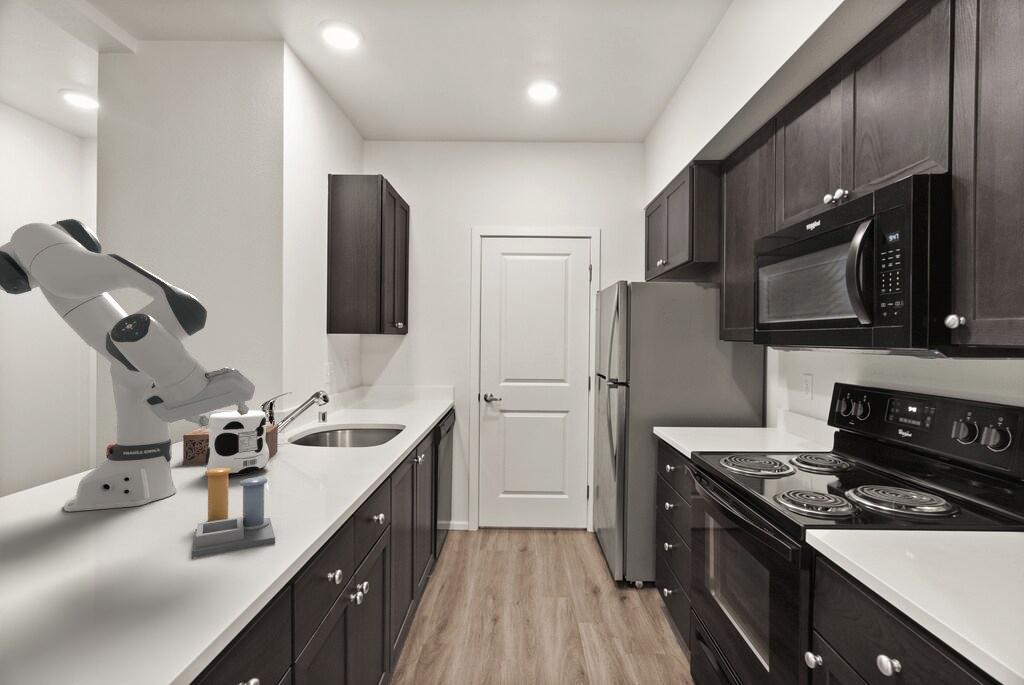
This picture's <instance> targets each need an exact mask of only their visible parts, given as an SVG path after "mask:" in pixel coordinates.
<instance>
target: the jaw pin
mask: <svg viewBox="0 0 1024 685" xmlns="http://www.w3.org/2000/svg"><path fill="white" fill-rule="evenodd" d="M228 473H231V469H230V468H216V469H211V470H207V469H206V471H204V476H207V522H208V521H209V522H211V521H218V520H225V519H229V476H228Z"/></svg>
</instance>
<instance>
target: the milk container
mask: <svg viewBox="0 0 1024 685" xmlns="http://www.w3.org/2000/svg"><path fill="white" fill-rule="evenodd" d="M209 416H210V417H209V422H208V428H209V446H208V450H207V453H206V457H205V463H206V464H205V468H206V471H207V470H211V469H216V468H230V469H231V473H228V477H231V476H232V477H233V476H242V475H248V474H252V473H256V472H258V471H261V470H264V469H265V468H266V467H267V465H268V463H269V461H270V460H269V449H268V446H267V442H266V426H267V423H266V422H267V418H266V417H267V416H266V412H265V411H260V410H249V411H248V414H245V415H240V414H239V413H238V412H237V410H236V411H226V412H218V413H213V414H211V415H209ZM268 460H269V461H268Z"/></svg>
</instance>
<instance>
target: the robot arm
mask: <svg viewBox="0 0 1024 685" xmlns="http://www.w3.org/2000/svg"><path fill="white" fill-rule="evenodd" d="M38 287H39V289H40V291H41V293H42V295H43V297H44V298H45V299H46V301H47V302H48V303H49V305H50V306H51V307H52V309H53V310H54V311H55V312H56V313H57V315H58V316H60V318H61V319H62V320H63V321H64V322H65V323H66V324H67V325H68V326H69V327H70V328H71V329H72V330H73V332H75V333H76V335H78V336H79V337H80V339H82V340H83V341H84V343H85V344H86V345H88V347H90V348H91V349H93V350H95V352H97V353H98V354H100V355H101V356H102V357H103V358H105V359H106V360H107V361H108V362H109V363H111V364H110V367H109V372H110V376H111V382H112V391H113V397H114V399H113V400H114V404H115V410H116V443H113V442H112V443H110V444H109V445H108V446H107V447H106V460H105V461H103V462H102V463H101V464H99V465H98V466H96V467H95V468H94V469H92V470H91V471H89V472H88V473H87V474H86V475H85V476H83V477H82V478H81V479H80V481H79V483H78V485H77V488H76V494H75V495H73V496H71V497H70V498H69V499H67V500H66V501H65V502H64V504H63V510H64V511H66V512H79V511H93V510H104V509H105V510H106V509H116V508H117V509H118V508H127V507H128V508H129V507H139V506H143V505H145V504H149V503H150V502H151V503H152V502H154V501H157V500H162V499H165V498H167V497H170V496H172V495H174V494H175V493H176V492H177V488H176V485H175V482H174V479H173V474H172V467H171V460H172V457H173V456H172V455H173V454H172V453H173V451H172V449H173V448H172V447H173V444H172V439H171V438H170V423H175V422H178V421H182V420H185V421H186V422H189V423H194V424H196V425H198V426H199V428H204V427H206V426H209V420H210V418H208V417H207V416H206V413H210V412H213V411H216V410H220V409H224V408H227V407H231V406H233V405H234V406H237V410H236V411H237V412H238V413H239V414H240V415H245V414H248V411H250V409H249V407H248V406H247V404H246V402H248V401H251V400H252V399H253V398H254V395H255V391H256V386H255V384H254V382H252V381H251V380H250V379H249V378H248V377H246V376H245V375H244V374H243V373H242V372H240V371H239V370H238V369H236V368H229V367H223V368H221V369H217V370H212V371H210V370H209V369H208V368H207V367H206V366H205V365H204V364H203V363H202V362H201V360H199V359H198V358H197V357H196V356H195V355H194V354H193V353H191V352H190V351H188V350H186V348H185V346H184V344H183V342H184V340H186V339H187V338H188V337H191V336H193V335H195V334H196V333H198V332H199V331H201V330H203V329H204V328H205V325H206V322H207V318H208V317H207V316H208V311H207V310H206V308H205V305H203V303H202V302H201V301H200V300H199V298H197V297H196V296H195V295H193V294H191V293H189V292H187V291H185V290H183V289H182V288H179V287H178V286H174V285H173V284H171V283H169V282H167V281H165V280H164V279H162V278H160V277H159V276H158V275H155V274H154V273H152V272H151V271H148V270H147V269H145V268H143V267H142V266H140V265H138V264H136V263H135V262H133V261H131V260H130V259H127V258H125V257H124V256H121V255H119V254H117V253H107V254H103V253H102V246H101V242H100V240H99V238H98V235H97V234H96V233H95V232H94V230H92V229H91V228H90V227H89V226H87V225H85V224H84V223H83V222H82V221H80V220H78V219H75V218H68V219H63V220H58V221H56V222H55V223H53V224H48V223H44V222H31V223H28V224H25V225H22V226H20V227H19V228H17V229H16V230H15V231H14V232H13V233H12V235H11V237H10V241H8V242H5V243H4V244H2V245H1V246H0V291H4V292H5V293H6V294H10V295H21V294H25V293H28V292H32V290H33V289H36V288H38ZM125 288H126V289H127V288H132V289H136V290H138V291H139V292H141V293H143V294H145V295H146V296H148V297H150V298H152V299H153V300H152V301H150V303H148V304H147V305H145V306H143V307H142V308H141V309H139V310H138V311H136V312H134V313H132V314H130V315H129V314H128V313H127V312H126V311H125V310H124V309H123V308H122V306H120V304H119V303H118V302H117V301H116V300H115V299H114V298H113V296H111V295H110V293H108V292H112V291H115V290H121V289H125ZM202 414H205V415H202Z"/></svg>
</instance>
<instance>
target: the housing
mask: <svg viewBox="0 0 1024 685" xmlns="http://www.w3.org/2000/svg"><path fill="white" fill-rule="evenodd" d="M266 483H267V484H268V478H267V477H261V476H260V477H251V478H244V479H241V480H240V481H239V486H241V487H242V516H241V517H240V516H239V517H233V518H228V519H225V520H218V521H211V522H208V521H206V522H200V523H197V527H196V528H195V531H194V536H193V537H194V538H193V545H192V551H191V552H192V554H191V558H192V559H193V558H200V557H205V556H210V555H217V554H222V553H226V552H228V553H229V552H233V551H238V550H245V549H250V548H257V547H262V546H267V545H275V544H276V535H275V533H274V532H275V531H274V528H273V524H272V521H271V517H265V484H266Z"/></svg>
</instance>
